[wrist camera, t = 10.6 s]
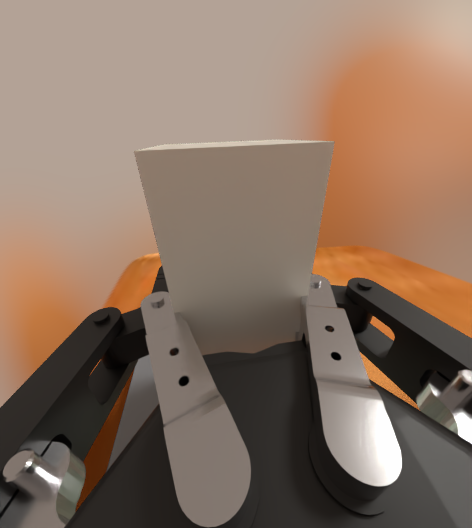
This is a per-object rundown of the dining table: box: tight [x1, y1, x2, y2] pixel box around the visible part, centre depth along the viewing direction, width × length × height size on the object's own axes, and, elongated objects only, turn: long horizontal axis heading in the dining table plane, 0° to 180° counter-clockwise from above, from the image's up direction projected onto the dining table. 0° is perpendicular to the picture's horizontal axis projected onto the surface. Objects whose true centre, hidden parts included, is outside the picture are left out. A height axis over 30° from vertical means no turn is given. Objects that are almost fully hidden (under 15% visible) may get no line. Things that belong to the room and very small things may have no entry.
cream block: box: [134, 140, 334, 355], centre depth 11 cm, size 5×5×14 cm
